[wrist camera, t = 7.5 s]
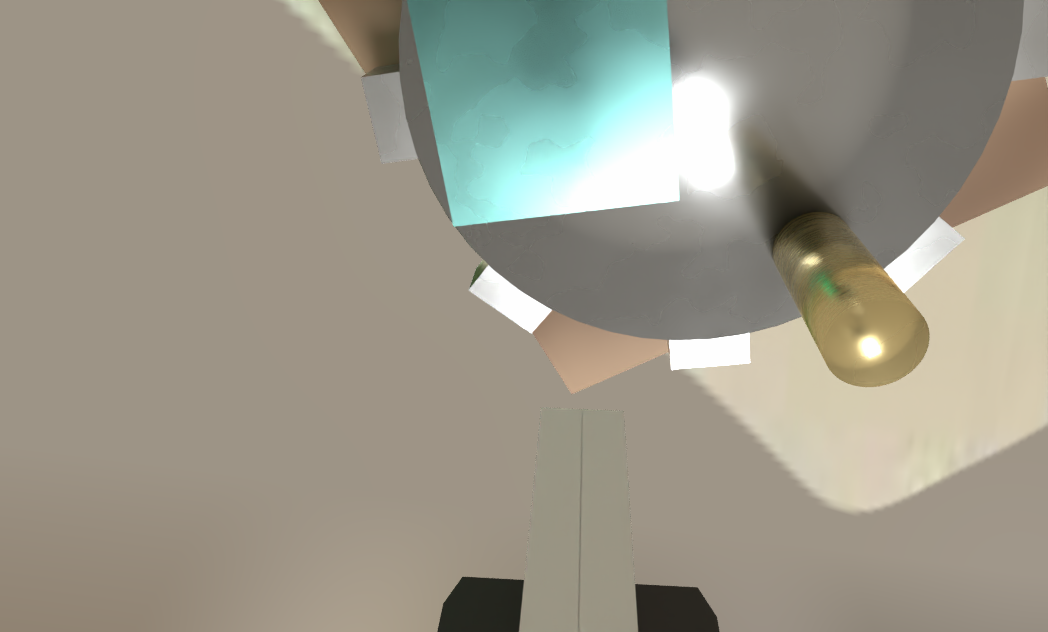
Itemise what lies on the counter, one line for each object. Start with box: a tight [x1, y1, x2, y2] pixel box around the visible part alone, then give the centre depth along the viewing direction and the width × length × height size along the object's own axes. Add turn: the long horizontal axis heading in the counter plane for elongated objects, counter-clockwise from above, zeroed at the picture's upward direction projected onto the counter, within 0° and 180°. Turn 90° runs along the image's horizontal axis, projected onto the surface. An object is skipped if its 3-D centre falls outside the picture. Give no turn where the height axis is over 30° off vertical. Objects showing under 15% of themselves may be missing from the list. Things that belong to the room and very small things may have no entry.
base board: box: [319, 0, 1048, 394], centre depth 24 cm, size 18×18×1 cm
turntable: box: [361, 0, 1048, 387], centre depth 20 cm, size 19×19×8 cm
